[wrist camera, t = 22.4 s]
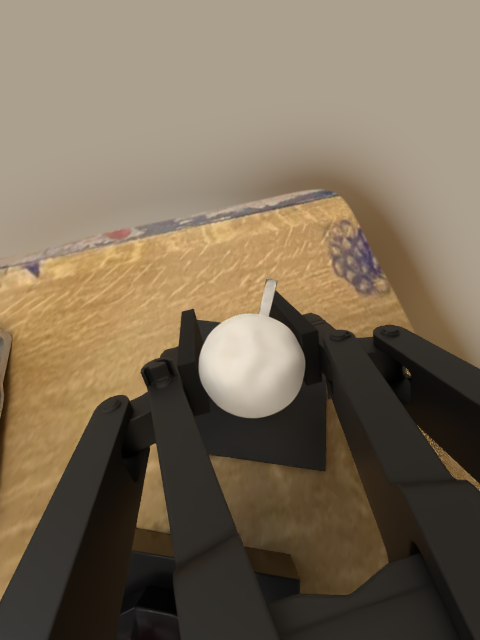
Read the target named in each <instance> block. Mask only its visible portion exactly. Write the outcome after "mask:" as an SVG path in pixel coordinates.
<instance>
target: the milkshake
mask: <svg viewBox="0 0 480 640" xmlns="http://www.w3.org/2000/svg"><path fill="white" fill-rule="evenodd" d="M276 286H277V280H274V279H270V278H267V279H266V283H265V287H264V292H263V297H262V301H261V306H260V311H259V314H240V315H236V316H233V317H231V318H229V319H227V320H225V321H224V322H222V323H221V324H219V325H218V326H217V327H215V328H214V329H213V330H212V331H211V333H210V334H209V335H208V337H207V339H206V341H205V343H204V345H203V347H202V350H201V353H200V356H199V366H198V367H199V376H200V380H201V383H202V385H203V387H204V389H205V390H206V392H207V393H208V395H209V396H210V398H211V399H212V400H213V401H214V402H215V403H216V404H217V405H218V406H219V407H220V408H221V409H223V410H225V411H226V412H228V413H231V414H233V415H236V416H239V417H244V418H261V417H266V416H269V415H272V414H274V413H277V412H279V411H281V410H282V409H284V408H285V407H286V406H288V405H289V404H290V403H291V402H292V401H293V400H294V398H295V397H296V396H297V394H298V392H299V390H300V388H301V385H302V382H303V377H304V372H305V357H304V353H303V351H302V349H301V347H300V345H299V343H298V341H297V339H296V337H295V335H294V334H293V332H292V331H291V330H290V329H289V328H288V327H287V326H286V325H284V324H283V323H281V322H279V321H277V320H275V319H273V318H271V317H269V314H270V310H271V306H272V302H273V298H274V294H275V290H276Z"/></svg>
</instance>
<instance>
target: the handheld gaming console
mask: <svg viewBox="0 0 480 640" xmlns="http://www.w3.org/2000/svg"><path fill="white" fill-rule="evenodd" d="M11 343H12V337H11V336H10V335H9V334H8V333H7V332H5V331H3V330H1V329H0V417H1V412H2V408H3V401H4V391H3V381H4V376H5V371H6V366H7V362H8V357H9V352H10V347H11Z"/></svg>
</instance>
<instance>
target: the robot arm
mask: <svg viewBox="0 0 480 640" xmlns="http://www.w3.org/2000/svg"><path fill="white" fill-rule="evenodd" d="M269 317H271V318H273V319H275V320H277V321H279V322H281V323H283V324H284V325H286V326H287V327H288V328H289V329H290V330H291V331H292V332H293V334H294V335H295V337H296V339H297V341H298V343H299V345H300V347H301V349H302V351H303V353H304V357H305V372H304V377H303V381H304V382H305V384H306V385H307V386H309V385H312V384H316V383H320V382H322V372H323V374H324V375H325V376H326V380H327V393H328V399H332V401H333V404H334V407H335V410H336V412H337V415H338V418H339V421H340V423H341V426H342V429H343V432H344V434H345V437H346V440H347V443H348V446H349V448H350V451H351V454H352V457H353V459H354V462H355V465H356V468H357V470H358V473H359V476H360V479H361V482H362V484H363V487H364V490H365V493H366V495H367V498H368V501H369V504H370V506H371V509H372V512H373V515H374V518H375V520H376V523H377V526H378V529H379V531H380V534H381V537H382V540H383V542H384V545H385V548H386V552H387V556H388V560H389V563H388V564H387V565H385V566H384V567H383V568H382V569H381V570H379V571H378V572H377V573H376V574H375V575H373V576H372V577H371V578H370V579H369V580H368V581H366V582H365V583H364V584H363V585H362V586H360V587H359V588H358V589H357V590H356V591H354V592H353V593H352V594H349V595H318V594H295V595H292V596H289V597H286V598H284V599H281V600H278V601H275V602H272V603H269V604H266V603H265V600H264V597H263V595H262V592H261V590H260V587H259V584H258V582H257V579H256V576H255V574H254V571H253V569H252V566H251V563H250V561H249V558H248V556H247V553H246V550H245V548H244V545H243V543H242V540H241V538H240V535H239V533H238V532H237V529H236V527H235V524H234V521H233V519H232V516H231V514H230V511H229V508H228V506H227V503H226V501H225V498H224V495H223V493H222V490H221V487H220V485H219V482H218V480H217V477H216V474H215V472H214V469H213V466H212V464H211V461H210V459H209V456H208V453H207V451H206V448H205V445H204V443H203V440H202V438H201V435H200V432H199V430H198V427H197V424H196V422H195V419H194V417H195V416H198V415H202V414H206V413H209V412H210V402H209V395H208V393H207V392H206V390H205V389H204V387H203V385H202V383H201V380H200V376H199V367H198V366H199V356H200V353H201V350H202V347H203V345H204V344H203V340H202V337H201V333H200V330H199V326H198V323H197V319H196V315H195V312H194V309H191V310H187V311H183V312H182V316H181V327H180V338H179V347H175V348H171V349H167V350H165V351H164V352H163V353H162V354H161V356H160V358H158V359H154V360H152V361H150V362H148V363H147V364H146V365H144V366H143V368H142V369H141V374H142V377H143V379H144V382H145V384H146V386H147V390H148V392H147V393H145V394H144V395H142V396H140V397H138V398H136V399H134V400H131V401H129V398H128V397H127V396H125V395H117V396H114V397H110V398H108V399H106V400H105V401H103V402H102V403H101V404H100V405H99V406H98V407H97V408H96V409H95V411H94V413H93V415H92V417H91V419H90V421H89V423H88V425H87V427H86V429H85V431H84V433H83V435H82V437H81V439H80V441H79V443H78V445H77V447H76V449H75V451H74V453H73V455H72V457H71V459H70V461H69V463H68V465H67V467H66V469H65V471H64V473H63V475H62V477H61V479H60V482H59V484H58V486H57V488H56V490H55V492H54V494H53V496H52V498H51V500H50V502H49V504H48V506H47V508H46V510H45V512H44V514H43V516H42V518H41V520H40V522H39V524H38V526H37V528H36V530H35V532H34V534H33V536H32V538H31V540H30V542H29V544H28V546H27V548H26V550H25V552H24V554H23V556H22V558H21V560H20V563H19V565H18V567H17V569H16V571H15V573H14V575H13V577H12V579H11V581H10V583H9V585H8V587H7V589H6V591H5V593H4V595H3V597H2V599H1V601H0V640H115V639H116V634H117V628H118V623H119V617H120V612H121V606H122V601H123V595H124V589H125V584H126V578H127V573H128V567H129V562H130V556H131V551H132V545H133V540H134V534H135V529H136V523H137V518H138V512H139V507H140V501H141V496H142V490H143V485H144V479H145V474H146V468H147V463H148V457H149V452H150V445H152V444H154V443H156V445H157V451H158V457H159V463H160V469H161V476H162V482H163V488H164V494H165V500H166V506H167V512H168V519H169V525H170V531H171V537H172V543H173V549H174V555H175V562H176V570H175V571H174V573H173V586H174V595H175V602H176V609H177V615H178V622H179V629H180V636H181V640H480V492H479V490H478V489H477V488H476V487H475V486H474V485H473V484H471V483H470V482H468V481H467V480H456V479H455V478H454V477H453V476H452V475H451V474H450V473H449V471H448V470H447V468H446V467H445V465H444V464H443V463H442V461H441V460H440V458H439V457H438V455H437V454H436V452H435V451H434V450H433V448H432V447H431V445H430V444H429V442H428V441H427V439H426V438H425V437H424V435H423V434H422V432H421V431H420V429H419V428H418V426H419V427H420V428H421V429H422V430H423V431H424V432H425V433H426V434H427V435H428V436H429V437H430V438H432V439H433V440H434V441H435V442H436V443H437V444H438V445H439V446H440V447H441V448H442V449H443V450H444V451H445V452H447V453H448V454H449V455H450V456H451V457H452V458H453V459H454V460H455V461H456V462H457V463H458V464H459V465H460V466H461V467H463V468H464V469H465V470H466V471H467V472H468V473H469V474H470V475H471V476H472V477H473V478H474V479H475V480H476V481H477V482H479V483H480V369H479V368H477V367H475V366H473V365H471V364H469V363H467V362H466V361H464V360H462V359H460V358H458V357H456V356H455V355H453V354H451V353H449V352H447V351H445V350H443V349H442V348H440V347H438V346H436V345H434V344H432V343H430V342H429V341H427V340H425V339H423V338H421V337H419V336H418V335H416V334H414V333H412V332H410V331H408V330H407V329H405V328H402V327H400V326H394V325H385V326H380V327H377V328H375V329H374V330H373V337H367V338H356V337H355V335H354V334H353V333H351V332H349V331H346V330H336V329H334V328H333V327H332V326H331V325H330V324H328V323H327V322H326V321H325V320H323V319H322V318H321V317H320V316H319V315H316V314H313V313H308V314H304V315H301V314H300V313H299V312H298V311H297V310H296V309H295V308H294V307H293V306H292V305H291V304H290V303H289V302H287V301H286V300H285V299H284V298H283V297H282V296H281V295H280V294H279V293H278V292H277V291H276V290H275V294H274V298H273V302H272V306H271V310H270V314H269ZM406 368H407V369H408V371H409V372H410V374H411V376H410V375H408V374H407V373H406ZM191 409H192V411H191ZM192 412H193V414H192ZM193 415H194V417H193ZM415 423H416V424H417V425H418V426H417V425H416V424H415Z"/></svg>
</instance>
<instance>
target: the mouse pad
mask: <svg viewBox="0 0 480 640" xmlns="http://www.w3.org/2000/svg"><path fill="white" fill-rule="evenodd" d="M197 323H198V326H199V330H200V333H201V337H202V340H203V344H204V343H205V341H206V339H207V337H208V335H209V334H210V333H211V331H212V330H213V329H214V328H215V327H217V326H218V325H219V324H221V323H219V322H211V321H202V320H197ZM326 385H327V380H326V376H325V375H324V374H323V372H322V382H320V383H316V384H312V385H309V386H307V385H306V384H305V382H304V381H303V382H302V385H301V388H300V390H299V392H298V394H297V396H296V397H295V398H294V400H293V401H292V402H291V403H290V404H289V405H288V406H286V407H285V408H284V409H282V410H281V411H279V412H277V413H274V414H272V415H269V416H266V417H261V418H244V417H239V416H236V415H233V414H231V413H228V412H226V411H225V410H223V409H221V408H220V407H219V406H218V405H217V404H216V403H215V402H214V401H213V400H212V399H211V398H210V396H209V402H210V412H209V413H206V414H202V415H198V416H195V417H194V415H193V417H194V419H195V422H196V424H197V427H198V430H199V432H200V435H201V438H202V440H203V443H204V445H205V448H206V451H207V453H208V454H211V455H218V456H225V457H232V458H238V459H245V460H252V461H259V462H265V463H272V464H279V465H286V466H292V467H299V468H306V469H313V470H319V471H325V469H326ZM191 411H192V409H191ZM192 414H193V412H192Z"/></svg>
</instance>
